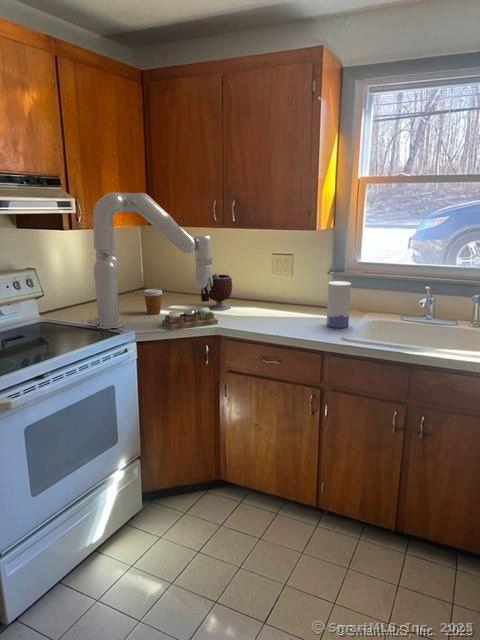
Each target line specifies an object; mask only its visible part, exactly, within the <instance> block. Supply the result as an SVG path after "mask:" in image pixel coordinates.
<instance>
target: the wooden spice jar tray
mask: <svg viewBox="0 0 480 640" xmlns="http://www.w3.org/2000/svg"><path fill="white" fill-rule="evenodd" d="M161 322H162V323H161V324H162V325H163V326H164V327H166V328H167V329H169V330H170V331H176V330H183V329H185V330H186V329H191V328H197V327H204V326H206V327H207V326H212V325H218V324H219V322H218V319H217V318H215V313H214V312H211V311H210V314H204V315H201V314H199V311H195V316H188V317H186V316H184V313H180V318H172V319H171V318H169V314H168V315H165V316H164V319H162V320H161Z"/></svg>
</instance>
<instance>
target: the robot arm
mask: <svg viewBox="0 0 480 640" xmlns="http://www.w3.org/2000/svg"><path fill="white" fill-rule="evenodd" d="M117 213H138V214H139V215H140V216H142V218H144V219H145V220H146V221H147V222H148V223H149V224H150V225H152V227H154V228H155V229H156V230H157V231H158V232H159V233H160V234H162V236H164V237H165V238H166V239H167V240H168V241H169V242H171V243H172V245H174V246H175V247H177V249H178V250H179V251H180V252H182V253H184V254H190V253H193V252H194V254H195V255H194V258H195V259H194V261H195V271H194V273H195V274H194V275H195V278H194V282H195V283H194V284H195V286H196V287H199V289H200V297H201V299H200V300H201V302H203V303H204V302H210V298H209V290H211V287H212V285H213V278H212V275H213V271H212V270H213V269H212V266H213V259H212V257H213V256H212V255H213V254H212V253H213V251H212V238H211V236H210V235H208V234H198V235H192V234H188V233H187V232H186V231H185V230H184V229H183V228H182V227H181V226H180V225H178V223H177V222H176V221H175V220H174V218H173V217H172V216H171V215H170V214H169V213H168V212H167V211H165V209H164V208H162V207H161V206H160V205H159V204H158V203H157V202H156V201H155V200H154V199H153V198H152V197H151V196H150V195H148V194H147V193H144V192H115V191H114V192H110V193H106V194H105V195H103V196H102V197H101V198H99V199H98V200H97V201H96V203H95V206H94V208H93V215H92V216H93V217H92V218H93V219H92V221H93V227H92V228H93V246H94V247H93V248H94V249H95V257H96V261H95V263H94V265H93V277H94V278H93V279H94V286H95V295H96V296H95V297H96V308H97V309H96V310H97V316H96V318H94V319H88V320H87V325H94V327H95V326H96V327H101V328H117V329H120V328H123V326H124V322H123V321H121V319H120V304H119V303H120V301H119V290H118V278H117V270H118V266H119V265H118V241H117V238H116V236H115V231H114V226H115V225H114V216H115V214H117ZM96 327H95V328H96Z"/></svg>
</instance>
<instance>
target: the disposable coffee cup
mask: <svg viewBox="0 0 480 640" xmlns="http://www.w3.org/2000/svg"><path fill="white" fill-rule="evenodd" d="M142 294H143V296H144V301H145V305H146V312H147V315H150V316H154V315H155V316H156V315H160V314H161V308H162V305H161V304H162V295H163V290H162V289H161V288H148V289H147V288H146V289H145V290H144V291H143V293H142Z"/></svg>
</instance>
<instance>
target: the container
mask: <svg viewBox="0 0 480 640" xmlns="http://www.w3.org/2000/svg"><path fill="white" fill-rule="evenodd" d="M327 286H328V287H327V288H328V289H327V306H326V307H327V309H326V326H328V327H330V328H335V329H344V328H348V327H349V323H350V321H349V320H350V307H351V306H350V305H351V288H352V287H351V286H352V283H351V282H349V281H344V280H343V281H341V280H337V281H336V280H335V281H329V282H328V285H327Z"/></svg>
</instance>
